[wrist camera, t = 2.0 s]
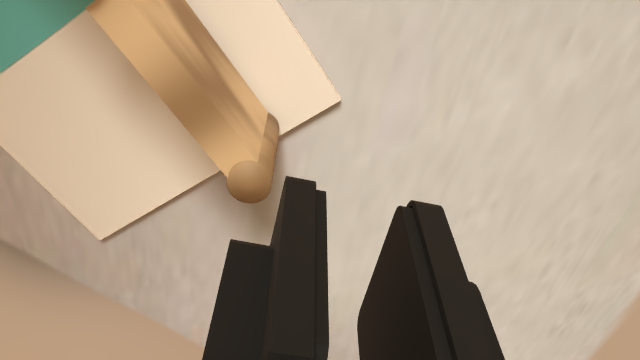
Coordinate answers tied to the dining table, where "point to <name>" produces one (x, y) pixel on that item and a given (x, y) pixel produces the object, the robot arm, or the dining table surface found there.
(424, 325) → the robot arm
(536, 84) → the dining table surface
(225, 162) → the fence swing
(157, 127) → the card
